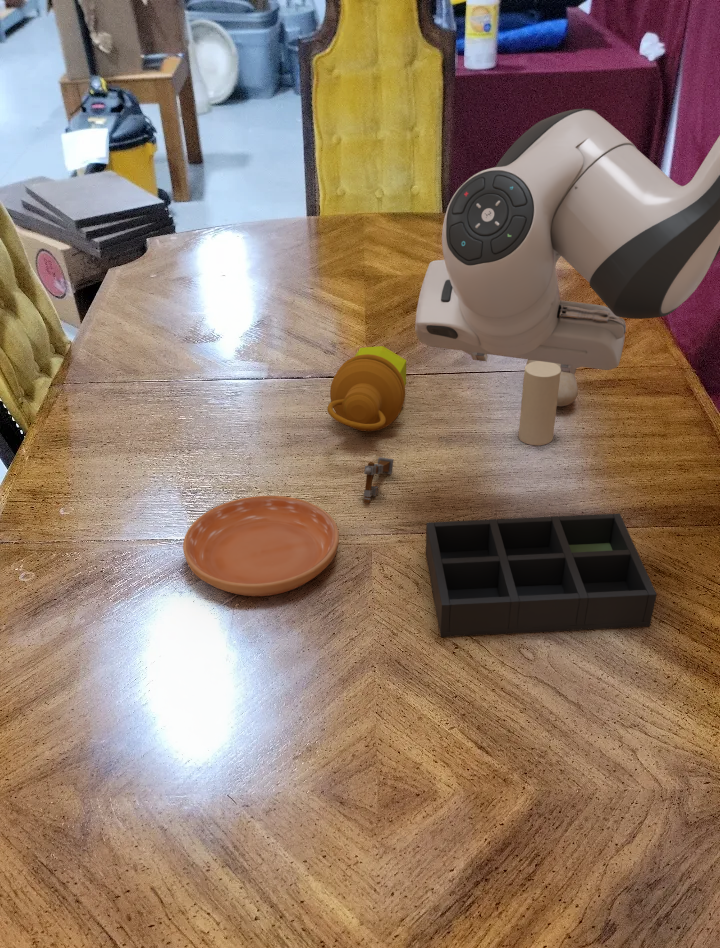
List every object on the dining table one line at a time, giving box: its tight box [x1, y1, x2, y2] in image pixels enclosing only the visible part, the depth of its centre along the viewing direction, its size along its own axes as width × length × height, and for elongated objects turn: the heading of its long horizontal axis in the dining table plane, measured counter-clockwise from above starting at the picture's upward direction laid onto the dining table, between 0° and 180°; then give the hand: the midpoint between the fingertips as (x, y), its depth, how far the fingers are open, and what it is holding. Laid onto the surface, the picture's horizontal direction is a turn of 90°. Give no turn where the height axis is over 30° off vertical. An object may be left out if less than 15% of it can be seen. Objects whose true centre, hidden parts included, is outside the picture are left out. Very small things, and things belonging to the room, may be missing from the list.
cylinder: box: [518, 361, 561, 446], centre depth 119 cm, size 4×4×9 cm
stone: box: [525, 359, 579, 407], centre depth 129 cm, size 6×6×12 cm
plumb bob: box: [327, 345, 407, 432], centre depth 123 cm, size 9×9×25 cm
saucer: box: [182, 495, 340, 597], centre depth 103 cm, size 16×16×3 cm
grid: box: [425, 512, 658, 638], centre depth 98 cm, size 20×14×4 cm
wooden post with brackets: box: [363, 456, 395, 504], centre depth 113 cm, size 2×8×4 cm, turn 163°
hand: (525, 359), depth 104 cm, fingers open, 8 cm apart
